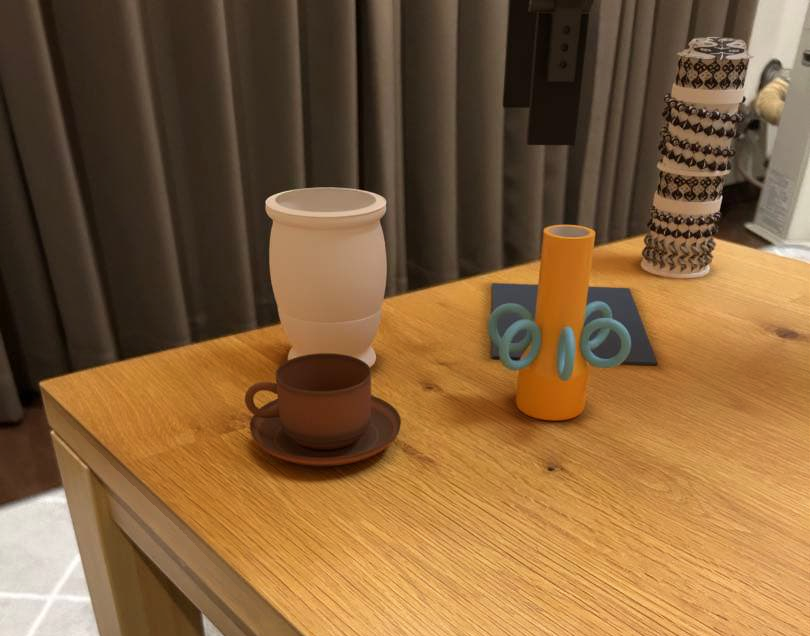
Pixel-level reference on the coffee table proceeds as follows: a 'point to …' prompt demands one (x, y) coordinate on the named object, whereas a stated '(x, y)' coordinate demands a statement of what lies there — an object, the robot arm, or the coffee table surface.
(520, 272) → the coffee table surface
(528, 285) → the dark grey flat rectangle
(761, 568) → the coffee table surface
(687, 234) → the decorative candle
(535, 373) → the cylinder
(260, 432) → the cup and saucer
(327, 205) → the jar
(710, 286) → the coffee table surface
